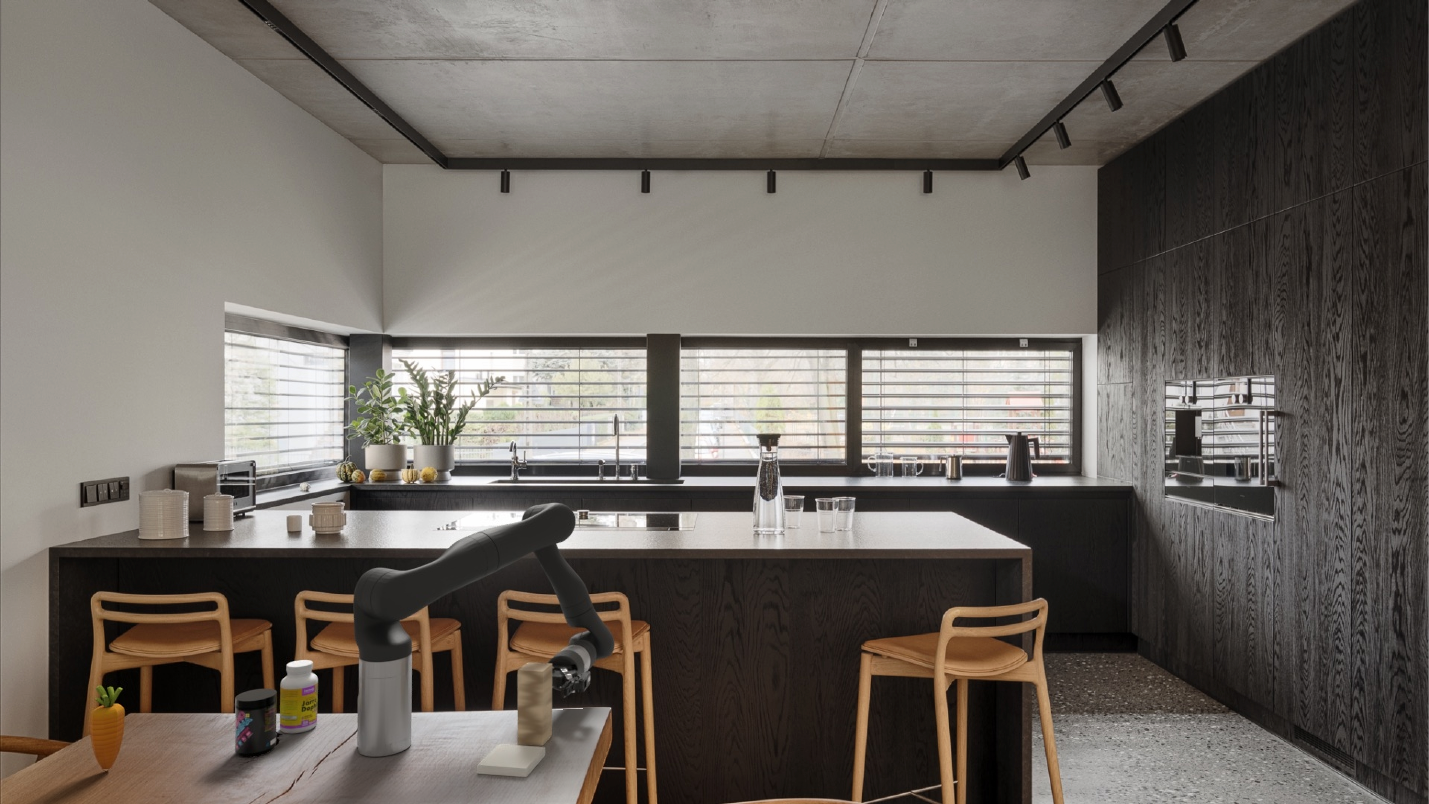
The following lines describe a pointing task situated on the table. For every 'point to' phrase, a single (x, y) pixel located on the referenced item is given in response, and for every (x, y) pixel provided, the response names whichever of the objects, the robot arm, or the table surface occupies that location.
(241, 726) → the supplement container
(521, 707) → the oak block
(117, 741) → the carrot
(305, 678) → the supplement bottle
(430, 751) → the table surface
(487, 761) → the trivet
